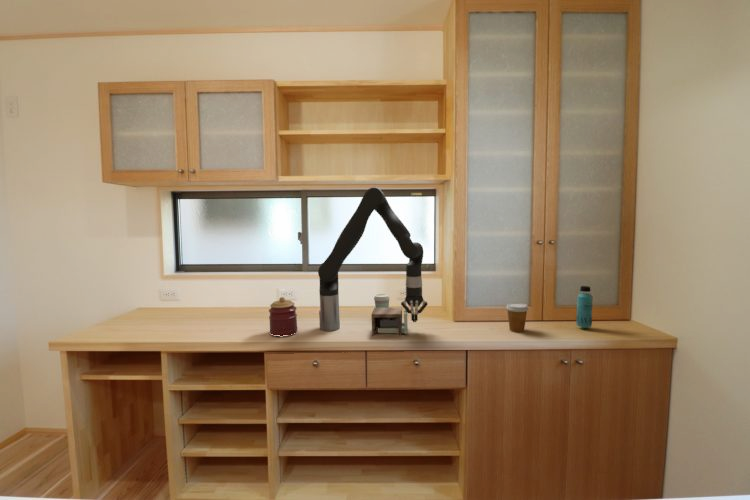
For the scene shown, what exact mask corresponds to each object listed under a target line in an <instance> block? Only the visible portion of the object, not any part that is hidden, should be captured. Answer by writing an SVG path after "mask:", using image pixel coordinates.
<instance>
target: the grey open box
mask: <svg viewBox="0 0 750 500" xmlns="http://www.w3.org/2000/svg"><path fill="white" fill-rule="evenodd" d="M402 323H403V316H402V317H401V328H402ZM380 328H399V324H398V317H381V319H380Z"/></svg>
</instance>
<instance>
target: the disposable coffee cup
mask: <svg viewBox="0 0 750 500" xmlns="http://www.w3.org/2000/svg"><path fill="white" fill-rule="evenodd" d="M505 307H506V310H507V317H508V324H509V331H511V332H514V333H523V332H525V326H526V321H527V313H528V310H529V307H528V304H525V303H519V302H511V303H510V302H509V303H507V305H506V306H505Z"/></svg>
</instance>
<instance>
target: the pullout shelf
mask: <svg viewBox="0 0 750 500" xmlns="http://www.w3.org/2000/svg"><path fill="white" fill-rule="evenodd" d="M403 309H404V308H403ZM377 333H378V334H399V328H380V326H379V328H377ZM401 334H405V335H407V334H408V312H407V311H406V310H405V309H404V310H403V322H402V328H401Z"/></svg>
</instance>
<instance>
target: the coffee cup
mask: <svg viewBox="0 0 750 500" xmlns="http://www.w3.org/2000/svg"><path fill="white" fill-rule="evenodd" d="M390 298H391V297H390V296H389V294H386V293H381V294H375V295H374V297H373V300H374V306H375V307H374V308H390V306H389V305H390Z"/></svg>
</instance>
